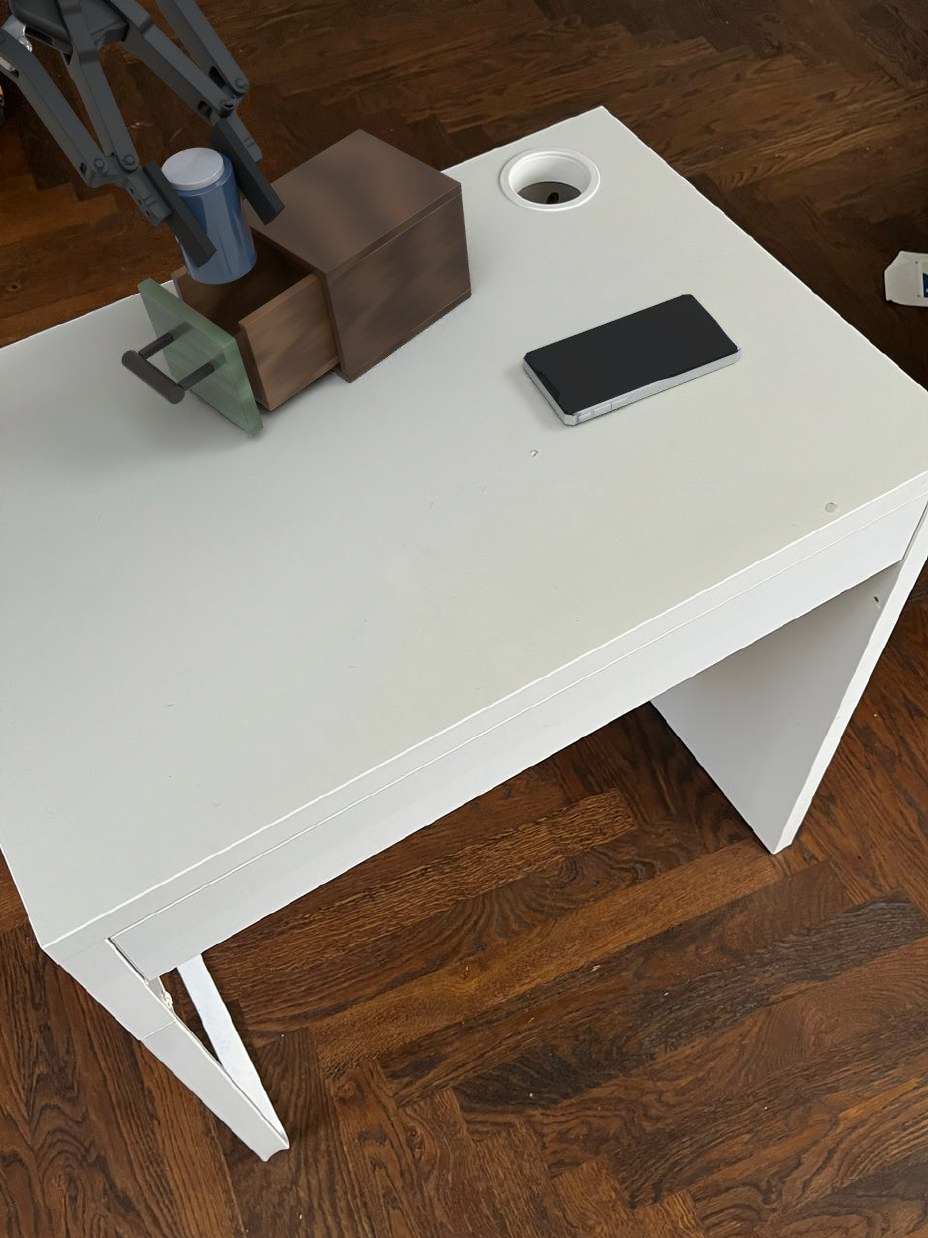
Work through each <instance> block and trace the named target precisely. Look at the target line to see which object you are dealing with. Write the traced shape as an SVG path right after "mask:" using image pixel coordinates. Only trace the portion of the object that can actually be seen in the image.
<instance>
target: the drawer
mask: <svg viewBox="0 0 928 1238" xmlns="http://www.w3.org/2000/svg"><path fill="white" fill-rule="evenodd" d="M252 238H253V241H254V245H255V248H256V252H257V259H256V263H255V265H254V266H253V268H252V269H251V270H250V271H249V272H248V273H247V274H245V275H244V276H242V277H241V278H239V279H237V280H234V281H232V282H228V283H224V284H204V283H200V282H198V281H196V280H194V279H193V278H192V277H191V276H190V275H189V274H188V272H187V270H186V267H185V265H183V266H181V267H180V268H178V269H176V270H174V271H173V272H172V273H171V274H170V277H171V280H172V282H173V283H172V284H173V285H174V289H175V291H176V294H177V296H176V295H175V294H173V293H172V292H171V291H169V290H168V289H166V288H165V287H163V286H162V285H161V284H159V283H158V282H157V281H155V280H153V279H152V278H151V277H147V278H146V279H144V280H143V281H141V282H139V283H138V284H137V285H136V286H137V290H138V292H139V295H140V298H141V300H142V303H143V305H144V307H145V311H146V313H147V316H148V319H149V321H150V323H151V326H152V328H153V330H154V333H155V335H156V339H155V340H153V341H152V342H150V343H148V344H147V345H145V346H144V347H142V348H141V349H139V350H137V351H136V350H134V349H129V350H126V351H125V352H124V353H123V354H122V355H121V358H120V360H121V361H120V362H121V365H122V367H124V368H125V369H127V371H129V372H130V373H131V374H133V375H134V376H135V377H137V378H138V379H139V380H141V381H142V382H143V383H145V385H146V386H148V387H149V388H150V389H152V390H153V391H154V392H156V394H158V395H159V396H161V397H162V398H163V399H164V400H165V401H167V402H168V403H170V405H171V404H172V405H178V404H180V403H181V402H182V401H183V400H184V398H185V395H186V391H188V390H191V391H192V392H193V393H195V394H196V395H197V396H198V397H200V398H201V399H202V400H204V401H205V402H206V403H207V404H209V405H210V406H212V407H213V408H214V409H216V410H217V411H218V412H220V413H221V414H222V415H223V416H225V417H226V418H227V419H229V420H230V421H231V422H232V423H234V424H235V425H236V426H237V427H238V428H240V429H242V430H243V431H244V432H246V433H247V434H248V435H249V436H251V437H253V436H255V435H257V433H259V432H260V431H262V430H264V425H263V420H262V418H261V415H260V412H259V409H258V405H257V403H256V402H258V403H259V404H260V405H262V406H263V407H264V408H266V409H267V410H268V411H270V412H271V411H274V409H276V408H277V407H279V406H280V405H282V404H284V403H285V402H286V401H288V399H290V398H292V397H293V396H295V395H297V393H299V392H300V391H302V390H303V389H305V388H306V387H307V386H308V385H310V384H312V383H313V382H314V381H316V380H317V379H318V378H320V377H321V376H323V375H324V374H325V373H328V371H331V370H330V369H331V368H332V367H334V366H335V365H337V364H338V363H339V362H340V360H339V356H338V351H337V347H336V343H335V338H334V334H333V329H332V325H331V320H330V316H329V312H328V307H327V303H326V298H325V294H324V289H323V285H322V281H321V278H320V277H319V276H317V275H315V274H314V273H312V272H311V271H309V270H308V269H306V268H304V267H303V266H301V265H300V264H298V263H297V262H295V261H293V260H292V259H290V258H289V257H287V256H286V255H284V254H283V253H281V252H279V251H278V250H276V249H275V248H273V247H272V246H270V245H268V244H267V243H265V242H264V241H262V240H261V239H259V238H257V237H256V236H254V235H253V234H252ZM160 351H161V352H162V353H163V356H164V360H165V361H166V365H167V367H168V369H169V372H170V374H171V376H173V377H174V378H175V379H177V380H178V382H176V381H175V380H173V379H172V378H171V377H170V376H168V375H167V374H166V373H164V372H163V371H162V370H160V368H158V367H156V366H155V365H154V364H153V363H152V362H150V361H149V360H148V359H149V358H151V357H153V356H154V355H155V354H157V353H158V352H160Z"/></svg>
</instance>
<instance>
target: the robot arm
mask: <svg viewBox="0 0 928 1238" xmlns="http://www.w3.org/2000/svg"><path fill="white" fill-rule="evenodd" d="M4 2H5V4H6V9H7V14H8V15H7V16H8V18H7V20H5V22H4V23H3V24H2V25H1V27H0V72H1V73H2V74H4V76H6V77H7V78H8V79H10V80H11V81H12V82H14V83H15V84H16V85H17V87H18V88H19V90H20V91H21V93H22V94H23V96H24V98H26V100H27V101H28V103H29V104H30V105H31V107H32V108H33V110H34V111H35V113H36V114H37V116H38V117H39V119H40V120H41V121H42V123H43V124H44V126H45V127H46V128H47V130H48V131H49V133H50V134H51V136H52V137H53V138H54V140H55V141H56V143H57V144H58V145H59V147H60V148H61V150H62V151H63V153H64V154H65V156H66V157H67V158H68V160H69V162H70V163H71V164H72V166H73V167H74V168H75V170H76V171H77V172H78V174H79V176H80V177H81V178H82V180H83V181H84V183H85V184H86V185H87V186H88V187H90V188H93V189H97V188H100V187H101V186H102V185H107V184H113V185H114V186H116V187H118V188H121V189H123V188H124V189H125V190H126V192H127V193H128V195H130V197H131V198H132V200H133V201H134V202H135V204H136V205H137V207H138V208H139V210H140V211H141V212H142V214H143V215H144V217H145V218H146V219H147V221H148V222H149V223H150V224H151V225H153V226H154V227H156V228H157V227H159V226H161V225H163V224H164V223H166V225H167V226H168V228H169V229H170V231H171V232H172V233H173V235H174V237H175V236H176V237H175V239H176V238H177V239H178V240H179V242H180V243H181V245H182V246H183V248H184V249H185V250H186V252H187V253H188V255H189V256H190V257H191V259H192V260H193V262H194V263H195V265H196V266H197V267H198V268H199V267H201V266H203V265H204V264H206V263H207V262H208V261H209V260H210V258H211V257H212V256H213V255H214V253H215V252H216V251H217V249H216V248H215V246H214V245H213V244H212V242H211V241H210V239H209V238H208V236H207V235H206V234H205V232H204V231H203V229H202V228H201V226H200V225H199V223H198V222H197V221H196V219H195V218H194V216H193V215H192V213H191V212H190V211H189V209H188V208H187V206H186V205H185V203H184V202H183V200H182V199H181V198H180V196H179V195H178V193H177V192H176V190H175V189H174V188H173V186H172V185H171V183H170V182H169V180H168V179H167V178H166V176H165V175H164V173H163V172H162V170H161V167H160V166H159V164H158V163H157V162H156V160H155V159H151V160H149V161H148V162H147V163H145V164H143V166H142V165H141V164H140V157H139V155H138V153H137V150H136V148H135V146H134V143H133V141H132V138H131V136H130V133H129V131H128V128H127V126H126V123H125V120H124V118H123V116H122V113H121V111H120V109H119V106H118V104H117V102H116V99H115V97H114V94H113V92H112V89H111V86H110V85H109V82H108V79H107V77H106V74H105V72H104V70H103V68H102V65H101V62H100V59H99V53H98V51H99V50H100V49H101V48H102V47H105V46H109V45H115V44H116V43H118V45H120V46H121V47H122V48H123V49H124V50H125V51H126V52H127V53H129V54H132V55H135V56H136V57H137V58H139V60H140V61H142V62H143V63H144V64H145V66H147V67H148V68H149V69H150V70H151V71H152V72H153V73H154V74H155V75H156V76H157V77H158V78H159V79H161V81H162V82H163V83H165V85H167V86H168V87H169V88H170V89H171V90H172V91H173V92H174V93H175V94H176V95H177V96H178V97H179V98H180V99H181V100H182V101H183V102H184V103H185V104H187V105H188V107H190V108H191V109H192V110H193V111H194V112H195V113H196V114H197V115H198V116H199V117H200V118H201V119H202V120H203V121H204V122H205V123H206V124H207V125H208V126H209V127H210V128H212V129H211V130H210V132H209V134H208V136H207V137H206V139H205V140H206V142H207V143H208V144H209V146H210V147H211V149H212V150H214V151H216V152H219V153H221V154H223V155H225V156H226V157H228V158H229V159H230V161H231V163H232V166H233V169H234V173H235V176H236V180H237V184H238V187H239V191H240V192H241V193H242V194H243V196H244V197H245V199H247V200H248V202H249V203H250V205H251V206H252V207H253V209H254V210H255V212H256V213H257V215H258V216H259V218H260V219H261V221H262V222H263V224H264V225H265V226H266V225H267V224H269V223H270V222H272V221H273V220H274V219H275V218H276V217H277V216H278V215H279V214H280V213H281V211H282V210H283V209H284V208H285V206H284V204H283V203H282V201H281V200H280V198H279V197H278V195H277V194H276V192H275V191H274V189H273V188H272V186H271V185H270V184H271V183H270V182H269V180H268V179H267V178H266V176H265V174H264V173H263V171H262V170H261V169H260V166H259V164H260V163H261V162H262V160H263V159H264V157H263V153H262V150H261V148H260V146H259V145H258V144H257V142H256V140H255V139H254V137H253V136H252V134H251V133H250V132H249V130H248V129H247V127H246V125H245V124H244V122H243V121H242V120H241V118H240V116H239V114H238V107H239V105H241V102H242V101H243V100H244V98H245V96H246V95H247V93H248V91H249V89H250V81H249V79H248V78H247V76H246V75H245V73H244V72H243V70H242V68H241V67H240V66H239V65H238V63H237V61H236V60H235V59H234V57H233V56H232V54H231V53H230V51H229V50H228V48H227V46H225V44H224V42H223V41H222V40H221V38H220V37H219V35H218V33H217V32H216V30H215V29H214V28H213V26H212V24H211V23H210V21H209V20H208V18H206V15H205V14H204V13H203V11H202V10H201V8H200V7H199V6H198V4H197V3H196V1H195V0H155V3H156V5H157V7H158V9H159V11H160V12H161V14H162V15H163V17H164V19H165V20H166V21H167V23H168V24H169V26H170V27H171V29H172V30H173V32H174V33H175V34H176V36H177V38H178V39H179V41H181V43H182V44H183V46H184V48H185V49H186V50H187V53H189V55H190V56H191V58H192V59H193V60H194V61H193V60H191V58H190V57H188V56H187V55H186V53H184V51H182V50H181V48H179V46H177V45H176V44H175V43H174V41H172V40H171V39H170V38H169V37H168V36H167V35H166V34H165V33H164V32H163V31H162V30H161V29H160V28H159V27H158V26H157V25H156V24H155V22H154V20H153V18H152V16H151V14H150V13H149V12H148V11H147V10H146V9H145V8H144V7H143V6H142V5H141V4H140V3H139V2H138V1H137V0H4ZM27 36H28V37H30V38H32V39H35V40H37V41H39V42H41V43H43V44H45V45H47V46H49V47H50V48H52V49H55V50H57V51H59V53H60V55H61V58H62V61H63V63H64V65H65V67H66V71H67V73H68V74H69V75H68V76H69V77H70V78H71V80H72V81H73V82H74V83H75V86H76V88H77V90H78V93H79V95H80V97H81V100H82V103H83V105H84V107H85V109H86V113H87V115H88V117H89V120H90V122H91V125H92V126H93V129H94V132H95V133H96V136H97V139H98V142H99V144H100V146H101V148H102V149H100V147H99V146H98V144H97V143H96V141H95V140H94V139H93V137H92V135H91V134H90V132H89V130H88V129H87V128H86V127H85V125H84V123H82V121H81V120H80V118H79V116H78V115H77V113H76V112H75V111H74V109H73V108H72V107H71V105H70V104H69V102H68V100H67V99H66V98H65V97H64V95H63V93H62V92H61V91H60V89H59V88H58V86H57V85H56V83H55V82H54V80H53V79H52V78H51V76H50V74H49V73H48V71H47V70H46V69H45V67H44V66H43V64H42V63H41V62H40V60H39V59H38V58H37V57H36V55H35V54H34V53H33V45H32V43H31V41H30V40H29V38H27ZM102 150H103V151H102Z"/></svg>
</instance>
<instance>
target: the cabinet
mask: <svg viewBox="0 0 928 1238" xmlns="http://www.w3.org/2000/svg"><path fill="white" fill-rule="evenodd" d="M270 185H271V186H272V188H273V189H274V191H275V192H276V194H277V195H278V197H279V198H280V200H281V201H282V203H283V204H284V206H285V208H284V209H283V210H282V211H281V213H280V214H279V215H278V216H277V217H276V218H275V219H274V220H273V221H272V222H270V223H269V224H267V225H266V226H265V225H264V224H263V222H262V221H261V219H260V218H259V216H258V215H257V213H256V212H255V210H254V209H253V207H252V206H251V205H250V203H249V202H248V200H247V199H246V198H245V199H242V202H243V205H244V209H245V212H246V216H247V220H248V223H249V227H250V230H251V234H253V235H254V236H256V237H257V238H259V239H261V240H262V241H264V242H265V243H267V244H268V245H270V246H272V247H273V248H275V249H276V250H278V251H279V252H281V253H283V254H284V255H286V256H287V257H289V258H290V259H292V260H293V261H295V262H297V263H298V264H300V265H301V266H303V267H304V268H306V269H308V270H309V271H311V272H312V273H314V274H315V275H317V276H319V277H320V278H321V281H322V285H323V289H324V294H325V298H326V303H327V307H328V312H329V316H330V320H331V325H332V329H333V334H334V338H335V343H336V347H337V351H338V356H339V360H340V362H339V363H338V364H337V365H335V366H334V367H332V368H331V369H330V370H329V371H331V372H333V373H334V374H335V375H337V376H338V377H339V378H342V380H344V381H346V382H347V383H349V384H352V383H353V382H354V381H356V380H358V379H359V378H360V377H361V376H362V375H364V374H365V373H366V372H368V371H369V370H371V369H372V368H373V367H375V366H377V365H378V364H380V362H382V361H383V360H385V359H386V358H388V356H390V355H392V354H393V353H395V352H396V351H397V350H398V349H400V348H401V347H403V346H404V345H406V344H407V343H408V342H410V341H411V340H412V339H414V338H415V337H416V336H418V335H419V334H421V333H423V331H425V330H426V329H428V328H429V327H430V326H432V325H433V324H434V323H436V322H437V321H439V320H440V319H441V318H443V317H444V316H445V315H447V314H449V312H451V311H452V310H454V309H456V308H457V307H458V306H460V305H461V304H462V303H463V302H465V301H466V300H467V299H469V298H470V297H472V285H471V284H472V283H471V273H470V264H469V254H468V253H469V252H468V245H467V244H468V242H467V234H466V223H465V221H466V220H465V213H464V202H463V193H462V191H463V189H462V182H460V181H458V180H456V179H454V178H453V177H451V176H449V175H447V174H445V173H443V172H441V171H439V170H437V169H436V168H435V167H432V166H430V165H428V164H426V163H425V162H423V161H421V160H419V159H417V158H415V157H413V156H411V155H410V154H408V153H406V152H404V151H402V150H400V149H399V148H396V147H395V146H392V145H391V144H389V143H387V142H385V141H384V140H381V138H378V137H376V136H374V135H372V134H370V133H369V132H366V131H365V130H363V129H360V128H358V129H357V130H355V131H353V132H352V133H350V134H349V135H347V136H346V137H344V138H342V139H341V140H339V141H337V142H336V143H334V144H332V145H331V146H329V147H328V148H326V149H324V150H322V151H321V152H319V153H318V154H316V155H315V156H313V157H311V158H310V159H308V160H306V161H304V163H302V164H300V165H298V166H296V167H294V168H293V169H291V170H290V171H289V172H287V173H286V174H284V175H282V176H281V177H279V178H277V179H276V180H274V181H272V182H271V183H270Z"/></svg>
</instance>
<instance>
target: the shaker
mask: <svg viewBox="0 0 928 1238" xmlns="http://www.w3.org/2000/svg"><path fill="white" fill-rule="evenodd" d="M160 169H161V170H162V172H163V173H164V175H165V176H166V178H167V179H168V180H169V182H170V183H171V185H172V186H173V188H174V189H175V190H176V192H177V193H178V195H179V196H180V198H181V199H182V200H183V202H184V203H185V205H186V206H187V208H188V209H189V211H190V212H191V213H192V215H193V216H194V218H195V219H196V221H197V222H198V223H199V225H200V226H201V228H202V229H203V231H204V232H205V234H206V235H207V236H208V238H209V239H210V241H211V242H212V244H213V245H214V246H215V248H216V249H217V251H216V252H215V253H214V255H213V256H212V257H211V258H210V260H209V261H208V262H207V263H206V264H204V265H203V266H201V267H199V268H198V267H197V266H196V265H195V263H194V262H193V260H192V259H191V257H190V256H189V255H188V253H187V252H186V250H185V249H184V248H183V246H182V245H181V243H180V242H179V240H178V239H177V238H176V236H175V235H174V237H175V240H176V243H177V246H178V249H179V251H180V255H181V257H182V261H183V264H184V266H185V267H186V270H187V272H188V274H189V275H190V276H191V277H192V278H193V279H194V280H196V281H198V282H200V283H204V284H224V283H228V282H232V281H234V280H237V279H239V278H241V277H242V276H244V275H245V274H247V273H248V272H249V271H250V270H251V269H252V268H253V266H254V265H255V263H256V259H257V252H256V248H255V245H254V241H253V238H252V234H251V230H250V227H249V223H248V220H247V216H246V212H245V209H244V205H243V202H242V201H243V198H242V195H241V190H240V188H239V187H238V184H237V180H236V176H235V173H234V169H233V166H232V163H231V161H230V159H229V158H228V157H226V156H225V155H223V154H221V153H219V152H216V151H214V150H213V149H212V148H207V147H193V148H187V149H183V150H181V151H179V152H177V153H175V154H173V155H172V156H170V157H169V158H167V160H166V161H165V162H164V163H163V165H162V166H161V167H160Z"/></svg>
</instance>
